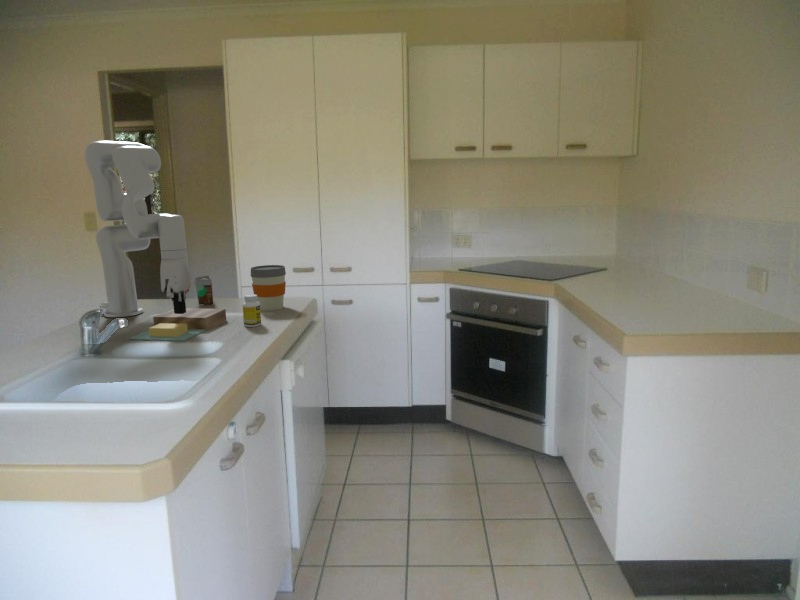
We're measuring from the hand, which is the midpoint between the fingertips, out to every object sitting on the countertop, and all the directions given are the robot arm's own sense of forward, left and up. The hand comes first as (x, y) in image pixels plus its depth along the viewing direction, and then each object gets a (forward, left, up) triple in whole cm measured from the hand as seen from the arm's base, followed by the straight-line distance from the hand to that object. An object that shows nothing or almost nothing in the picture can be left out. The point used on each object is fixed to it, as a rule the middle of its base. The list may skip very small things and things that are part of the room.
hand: (180, 313), depth 178 cm
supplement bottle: (+21, +7, -5) cm, 23 cm away
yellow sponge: (0, -8, -2) cm, 8 cm away
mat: (0, -7, -5) cm, 9 cm away
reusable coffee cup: (+16, +33, -5) cm, 37 cm away
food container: (-14, +39, -5) cm, 41 cm away
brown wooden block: (0, +6, -5) cm, 8 cm away
